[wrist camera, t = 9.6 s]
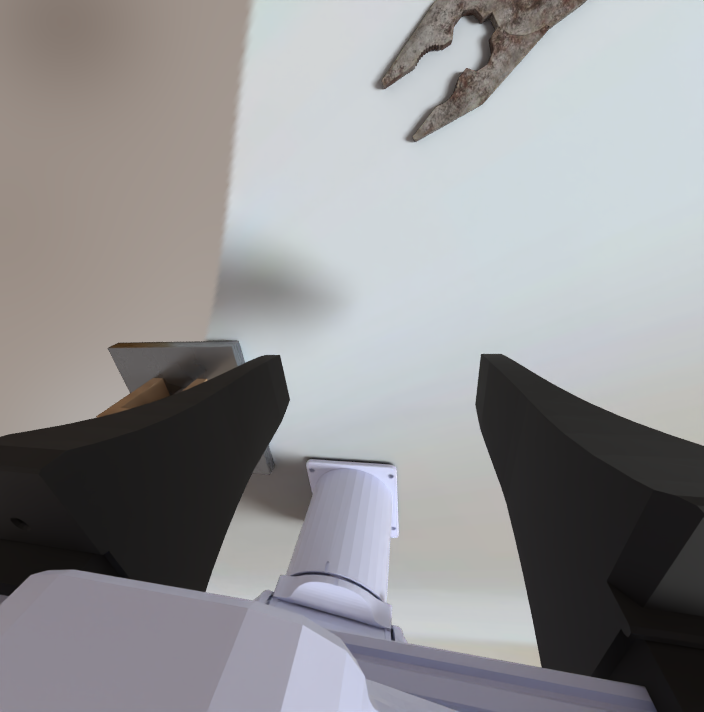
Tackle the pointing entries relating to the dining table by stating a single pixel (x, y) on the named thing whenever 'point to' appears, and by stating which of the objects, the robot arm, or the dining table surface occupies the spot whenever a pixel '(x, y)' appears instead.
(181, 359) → the base plate
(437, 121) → the pliers
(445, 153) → the dining table surface
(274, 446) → the dining table surface
